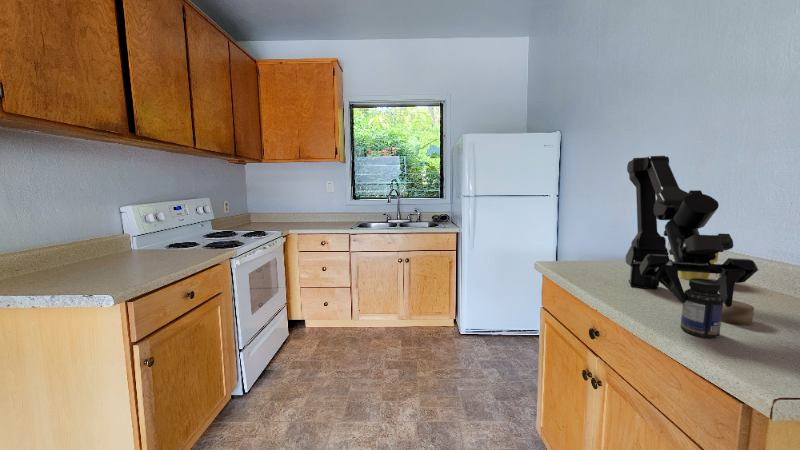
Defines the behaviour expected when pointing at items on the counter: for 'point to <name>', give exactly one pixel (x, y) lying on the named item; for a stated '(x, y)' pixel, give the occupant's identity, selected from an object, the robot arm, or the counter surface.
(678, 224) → the robot arm
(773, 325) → the counter surface
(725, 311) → the stand
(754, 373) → the counter surface
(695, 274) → the plant pot
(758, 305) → the counter surface
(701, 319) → the pill bottle
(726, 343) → the counter surface
